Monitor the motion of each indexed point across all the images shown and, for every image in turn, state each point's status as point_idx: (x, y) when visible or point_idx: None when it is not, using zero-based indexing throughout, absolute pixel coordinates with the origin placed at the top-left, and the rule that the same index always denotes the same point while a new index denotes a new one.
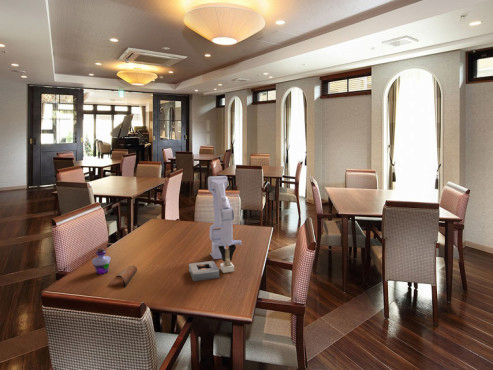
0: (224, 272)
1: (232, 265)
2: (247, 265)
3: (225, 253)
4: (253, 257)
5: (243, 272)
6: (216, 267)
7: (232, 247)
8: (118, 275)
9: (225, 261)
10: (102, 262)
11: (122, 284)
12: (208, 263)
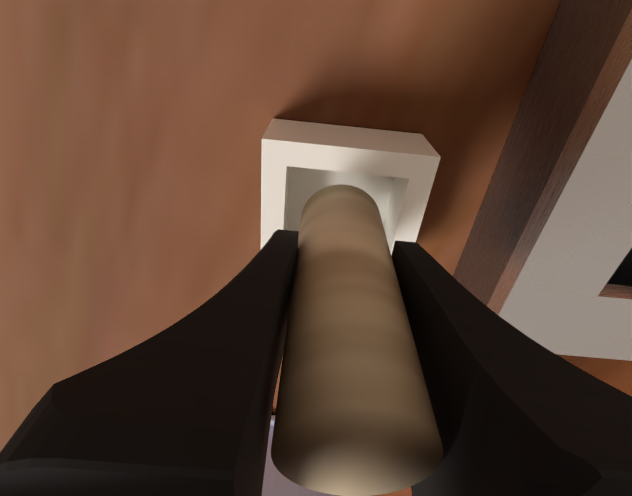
0: (404, 132)
1: (278, 176)
2: (79, 218)
3: (410, 347)
4: (9, 354)
5: (158, 18)
6: (629, 103)
7: (178, 475)
8: None
9: (383, 238)
10: None
11: None
12: (594, 301)
